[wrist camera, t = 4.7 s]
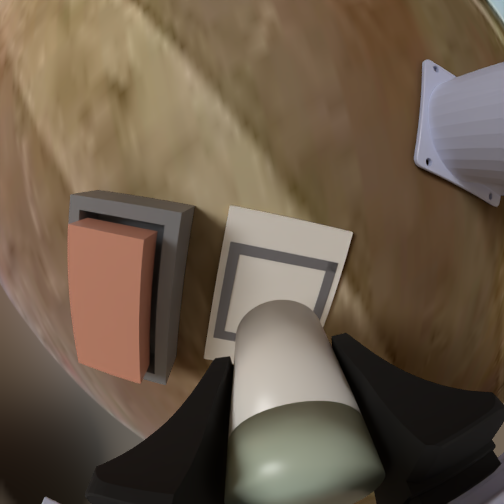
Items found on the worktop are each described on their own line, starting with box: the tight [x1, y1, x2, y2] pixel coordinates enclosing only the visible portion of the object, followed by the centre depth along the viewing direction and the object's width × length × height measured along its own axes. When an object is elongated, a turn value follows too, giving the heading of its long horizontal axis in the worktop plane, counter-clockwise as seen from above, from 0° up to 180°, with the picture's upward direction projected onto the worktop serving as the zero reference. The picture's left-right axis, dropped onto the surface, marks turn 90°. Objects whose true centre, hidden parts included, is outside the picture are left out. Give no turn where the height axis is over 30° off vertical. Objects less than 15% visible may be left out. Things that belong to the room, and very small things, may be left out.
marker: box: [224, 300, 385, 504], centre depth 8 cm, size 4×4×8 cm
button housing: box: [69, 190, 195, 385], centre depth 14 cm, size 6×10×3 cm, turn 168°
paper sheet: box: [204, 205, 353, 364], centre depth 16 cm, size 7×10×1 cm
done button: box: [68, 218, 158, 384], centre depth 12 cm, size 4×8×2 cm, turn 168°
